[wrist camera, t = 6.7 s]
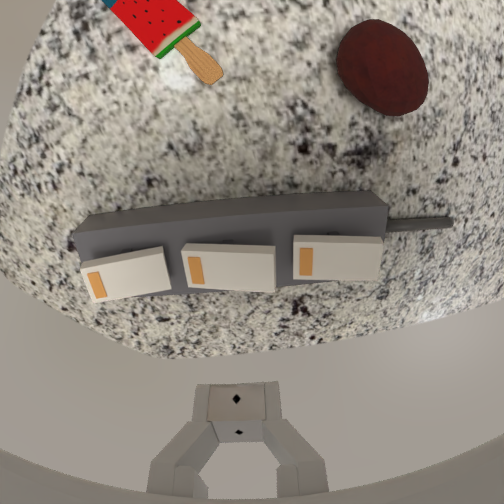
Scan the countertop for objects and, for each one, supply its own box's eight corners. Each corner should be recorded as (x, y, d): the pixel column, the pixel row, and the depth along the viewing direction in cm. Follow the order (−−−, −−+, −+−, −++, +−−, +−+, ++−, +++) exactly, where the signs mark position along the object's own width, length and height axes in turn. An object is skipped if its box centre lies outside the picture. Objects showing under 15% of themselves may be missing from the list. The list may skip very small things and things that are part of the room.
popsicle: (194, 98, 22) (86, -9, 16) (196, 97, 23) (93, -5, 17) (239, 62, 21) (126, -44, 14) (239, 63, 22) (131, -38, 16)
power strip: (453, 189, 28) (481, 207, 23) (442, 246, 31) (466, 269, 27) (89, 215, 27) (67, 238, 23) (107, 275, 30) (91, 305, 26)
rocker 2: (275, 245, 23) (273, 255, 22) (276, 283, 25) (274, 293, 23) (186, 243, 24) (180, 251, 23) (193, 278, 26) (187, 288, 25)
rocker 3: (380, 236, 23) (384, 244, 22) (375, 272, 25) (377, 281, 24) (293, 234, 24) (293, 242, 23) (293, 271, 26) (293, 280, 25)
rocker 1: (162, 245, 24) (162, 253, 23) (170, 281, 26) (171, 290, 25) (82, 261, 23) (79, 270, 22) (95, 295, 24) (93, 304, 23)
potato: (338, 118, 24) (365, 127, 19) (317, 28, 20) (340, 13, 15) (409, 109, 24) (447, 117, 18) (392, 25, 20) (428, 15, 14)
